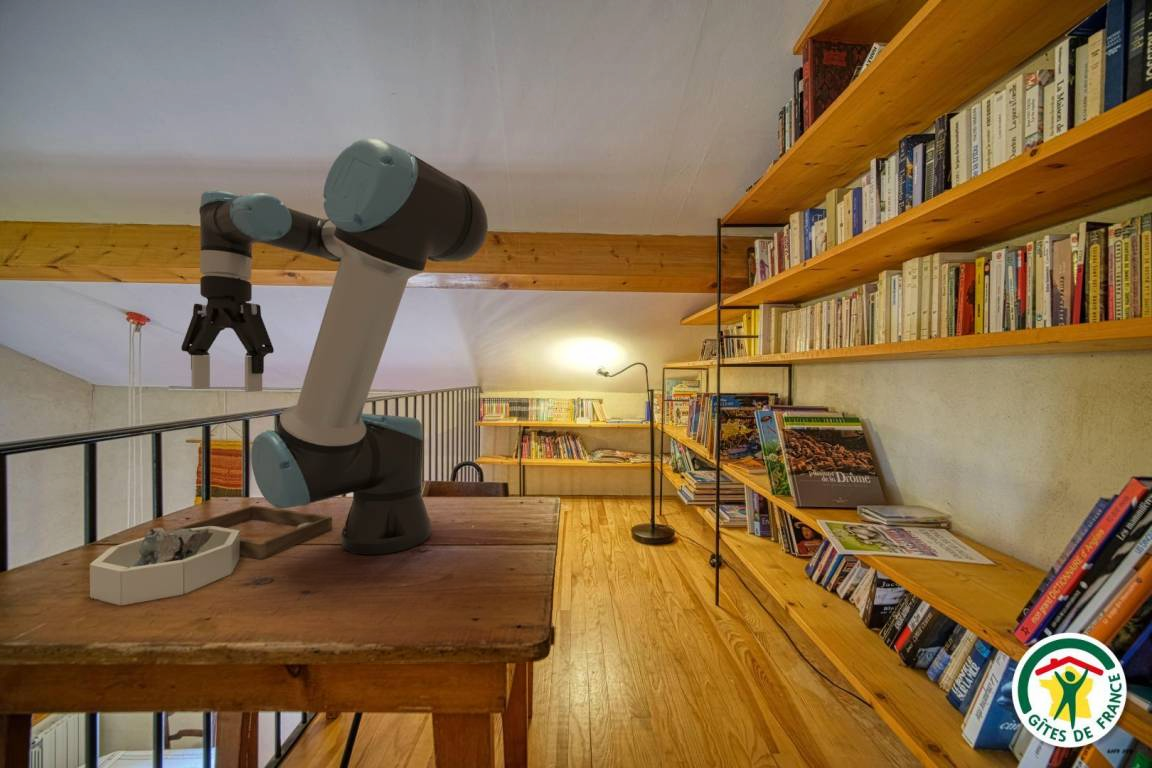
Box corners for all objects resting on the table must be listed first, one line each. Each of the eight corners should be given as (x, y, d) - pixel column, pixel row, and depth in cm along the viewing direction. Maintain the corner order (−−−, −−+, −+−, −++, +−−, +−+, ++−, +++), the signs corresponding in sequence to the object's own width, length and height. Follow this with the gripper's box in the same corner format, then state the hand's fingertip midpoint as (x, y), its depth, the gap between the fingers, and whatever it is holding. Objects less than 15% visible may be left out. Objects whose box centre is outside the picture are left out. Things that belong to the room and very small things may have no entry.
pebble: (319, 531, 82) (319, 523, 82) (307, 537, 79) (307, 528, 79) (306, 529, 82) (306, 521, 82) (293, 535, 79) (293, 527, 79)
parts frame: (331, 529, 82) (332, 516, 82) (261, 559, 69) (261, 544, 69) (253, 517, 88) (253, 505, 88) (173, 543, 74) (173, 529, 74)
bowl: (260, 561, 68) (260, 533, 68) (144, 611, 54) (143, 576, 54) (193, 548, 72) (193, 522, 72) (68, 592, 58) (68, 559, 58)
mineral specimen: (144, 610, 61) (218, 587, 63) (91, 596, 55) (174, 571, 56) (165, 546, 67) (232, 526, 69) (119, 526, 61) (194, 505, 62)
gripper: (296, 280, 81) (295, 391, 81) (201, 284, 87) (201, 387, 88) (257, 271, 73) (256, 393, 74) (156, 276, 80) (157, 388, 81)
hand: (226, 390), depth 81 cm, fingers open, 13 cm apart
